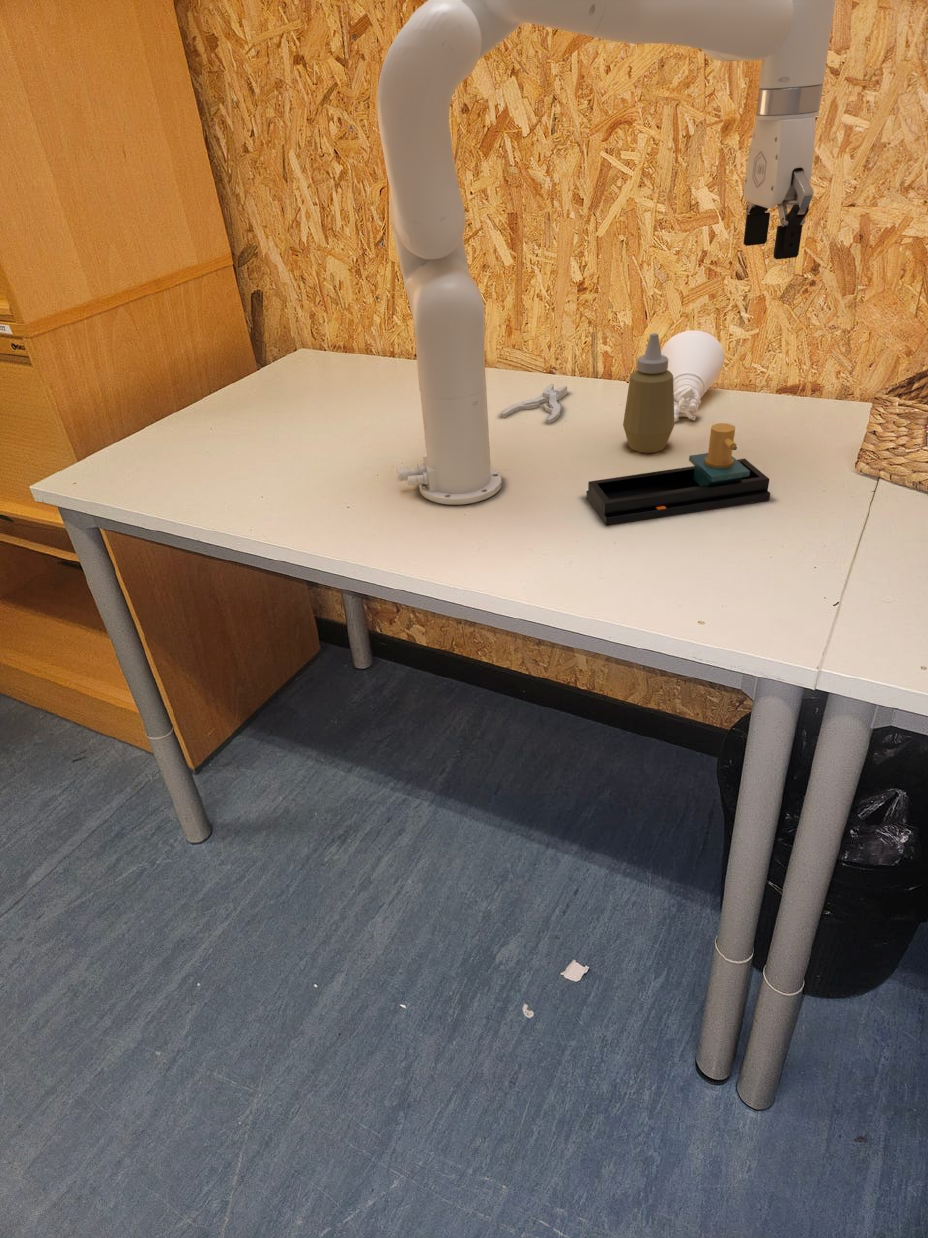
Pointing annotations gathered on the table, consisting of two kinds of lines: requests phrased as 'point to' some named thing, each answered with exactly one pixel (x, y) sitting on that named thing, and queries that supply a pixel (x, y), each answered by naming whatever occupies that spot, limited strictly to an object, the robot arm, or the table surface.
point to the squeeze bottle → (650, 401)
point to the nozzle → (718, 458)
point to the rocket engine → (692, 368)
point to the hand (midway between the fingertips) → (769, 250)
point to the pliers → (548, 396)
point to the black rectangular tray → (671, 494)
